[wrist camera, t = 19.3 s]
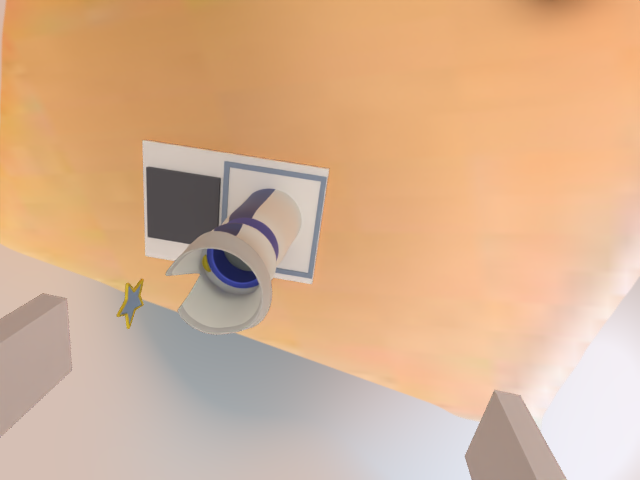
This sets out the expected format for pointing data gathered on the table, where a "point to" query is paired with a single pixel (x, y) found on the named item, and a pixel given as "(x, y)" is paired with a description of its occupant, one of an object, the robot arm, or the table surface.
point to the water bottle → (232, 265)
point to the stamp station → (224, 199)
